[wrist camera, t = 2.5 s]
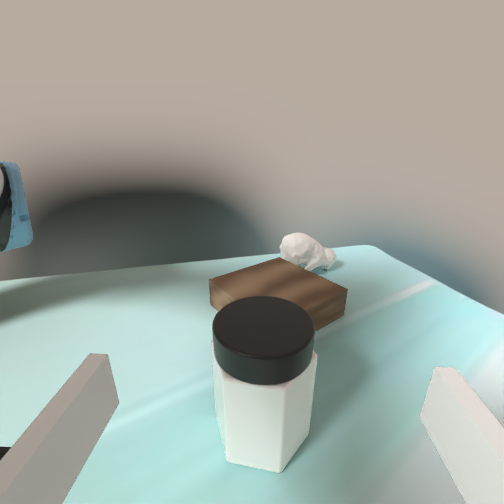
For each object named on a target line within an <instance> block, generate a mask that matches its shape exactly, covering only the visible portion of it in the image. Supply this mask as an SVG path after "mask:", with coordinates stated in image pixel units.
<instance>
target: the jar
mask: <svg viewBox="0 0 504 504" xmlns="http://www.w3.org/2000/svg"><path fill="white" fill-rule="evenodd" d="M212 330H213V340H212V341H211V346H212V362H213V378H214V394H215V410H216V419H217V423H218V427H219V431H220V435H221V440H222V444H223V448H224V452H225V456H226V460H227V461H228V462H230V463H235V464H239V465H244V466H248V467H253V468H257V469H262V470H267V471H271V472H276V473H281V472H282V470H283V469H284V468H285V466H286V465H287V463H288V462H289V461H290V459H291V458H292V456H293V455H294V454H295V452H296V451H297V450H298V448H299V447H300V445H301V444H302V443H303V441H304V440H305V438H306V437H307V436H308V434H309V428H310V419H311V410H312V402H313V393H314V384H315V376H316V367H317V359H318V356H317V354H316V353H315V351H314V350H313V344H314V335H315V326H314V322H313V320H312V318H311V316H310V315H309V314H308V312H307V311H306V310H304V309H303V308H302V307H301V306H299V305H297V304H295V303H294V302H291V301H289V300H286V299H283V298H279V297H273V296H250V297H245V298H241V299H238V300H235V301H233V302H230V303H229V304H227V305H225V306H224V307H223V308H222V309H221V310H220V311H219V312H218V313H217V314H216V316H215V318H214V320H213V325H212Z"/></svg>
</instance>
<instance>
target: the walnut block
mask: <svg viewBox="0 0 504 504" xmlns="http://www.w3.org/2000/svg"><path fill="white" fill-rule="evenodd" d="M209 287H210V304H211V305H212V306H213V307H214V308H215V309H216V310H217V311H218V312H219V311H220V310H221V309H222V308H223V307H224V306H225V305H227V304H229V303H230V302H233V301H235V300H238V299H241V298H245V297H250V296H273V297H279V298H283V299H286V300H289V301H291V302H294V303H295V304H297V305H299V306H301V307H302V308H303V309H304V310H306V311H307V312H308V314H309V315H310V316H311V318H312V320H313V322H314V326H315V331H317V330H319V329H320V328H322V327H324V326H326V325H328V324H329V323H331V322H333V321H335V320H336V319H338V318H340V317H342V316H343V315H344V310H345V303H346V297H347V290H348V289H346V288H344V287H342V286H340V285H338V284H335V283H333V282H331V281H329V280H327V279H325V278H323V277H321V276H318V275H316V274H314V273H312V272H310V271H308V270H306V269H304V268H301V267H299V266H297V265H295V264H293V263H291V262H289V261H287V260H284V259H282V258H280V257H279V258H276V259H272V260H269V261H266V262H263V263H260V264H257V265H253V266H250V267H247V268H244V269H241V270H238V271H234V272H231V273H228V274H225V275H222V276H219V277H215V278H212V279H209Z"/></svg>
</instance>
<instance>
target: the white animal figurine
mask: <svg viewBox="0 0 504 504" xmlns="http://www.w3.org/2000/svg"><path fill="white" fill-rule="evenodd" d="M279 248H280V250H281V258H282V259H284V260H287V261H289V262H291V263H293V264H295V265H299V264H301V263H302V264H304V265H307V266H306V267H305V268H304V269H306V270H308V271H312V270H313V269H315V268H316V267H319V266H321V268H322V269H330V268H331V266H332V265H333V264H334V263H335V261H336V254H335V252H334V251H333V250H331V249H329V248H324V247H322V246H321V245H320V244H319V243H318V242H317V241H316V240H315V239H313V238H312V237H309V236H308V235H306V234H303V233H293V234H290V235H287V236H285V237H284V238H283V240H282V244H281V245H280V247H279ZM327 272H328V270H327Z"/></svg>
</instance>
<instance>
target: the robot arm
mask: <svg viewBox="0 0 504 504" xmlns="http://www.w3.org/2000/svg"><path fill="white" fill-rule="evenodd" d="M32 238H33V234H32V229H31V224H30V220H29V213H28V208H27V203H26V198H25V192H24V187H23V182H22V177H21V172H20V168H19V167H18V165H17V164H15V163H11V162H9V163H8V162H5V161H0V252H5V251H7V250H9V249H13V248H18V247H23V246H26V245H28V244H29V243H30V242H31V241H32ZM118 404H119V399H118V395H117V391H116V387H115V383H114V378H113V374H112V370H111V366H110V362H109V357H108V354H89V355H88V356H87V358H86V359H85V360H84V361H83V362H82V363H81V365H80V366H79V367H78V368H77V369H76V371H75V372H74V373H73V374H72V375H71V377H70V378H69V379H68V380H67V381H66V383H65V384H64V385H63V386H62V387H61V389H60V390H59V391H58V392H57V393H56V395H55V396H54V397H53V398H52V399H51V401H50V402H49V403H48V404H47V405H46V407H45V408H44V409H43V410H42V411H41V413H40V414H39V415H38V416H37V417H36V418H35V420H34V421H33V422H32V423H31V424H30V426H29V427H28V428H27V429H26V430H25V432H24V433H23V434H22V435H21V436H20V438H19V439H18V440H17V441H16V442H15V444H14V445H13V446H12V447H0V504H62V503H63V501H64V500H65V498H66V496H67V494H68V493H69V491H70V489H71V487H72V485H73V484H74V482H75V480H76V478H77V477H78V475H79V473H80V471H81V470H82V468H83V466H84V464H85V463H86V461H87V459H88V457H89V456H90V454H91V452H92V450H93V448H94V447H95V445H96V443H97V441H98V440H99V438H100V436H101V434H102V433H103V431H104V429H105V427H106V426H107V424H108V422H109V420H110V419H111V417H112V415H113V413H114V411H115V410H116V408H117V406H118ZM419 418H420V420H421V421H422V423H423V425H424V427H425V429H426V431H427V433H428V434H429V436H430V438H431V440H432V442H433V444H434V445H435V447H436V449H437V451H438V453H439V455H440V457H441V458H442V460H443V462H444V464H445V466H446V468H447V470H448V471H449V473H450V475H451V477H452V479H453V481H454V483H455V484H456V486H457V488H458V490H459V492H460V494H461V495H462V497H463V499H464V501H465V503H466V504H504V427H503V426H502V425H501V424H500V423H499V421H498V420H497V419H496V418H495V416H494V415H493V414H492V413H491V411H490V410H489V409H488V408H487V407H486V405H485V404H484V403H483V402H482V400H481V399H480V398H479V397H478V395H477V394H476V393H475V392H474V391H473V389H472V388H471V387H470V386H469V384H468V383H467V382H466V381H465V379H464V378H463V377H462V376H461V375H460V373H459V372H458V371H457V370H456V368H448V367H434V371H433V374H432V377H431V381H430V384H429V387H428V391H427V394H426V397H425V400H424V404H423V407H422V410H421V414H420V417H419Z"/></svg>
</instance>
